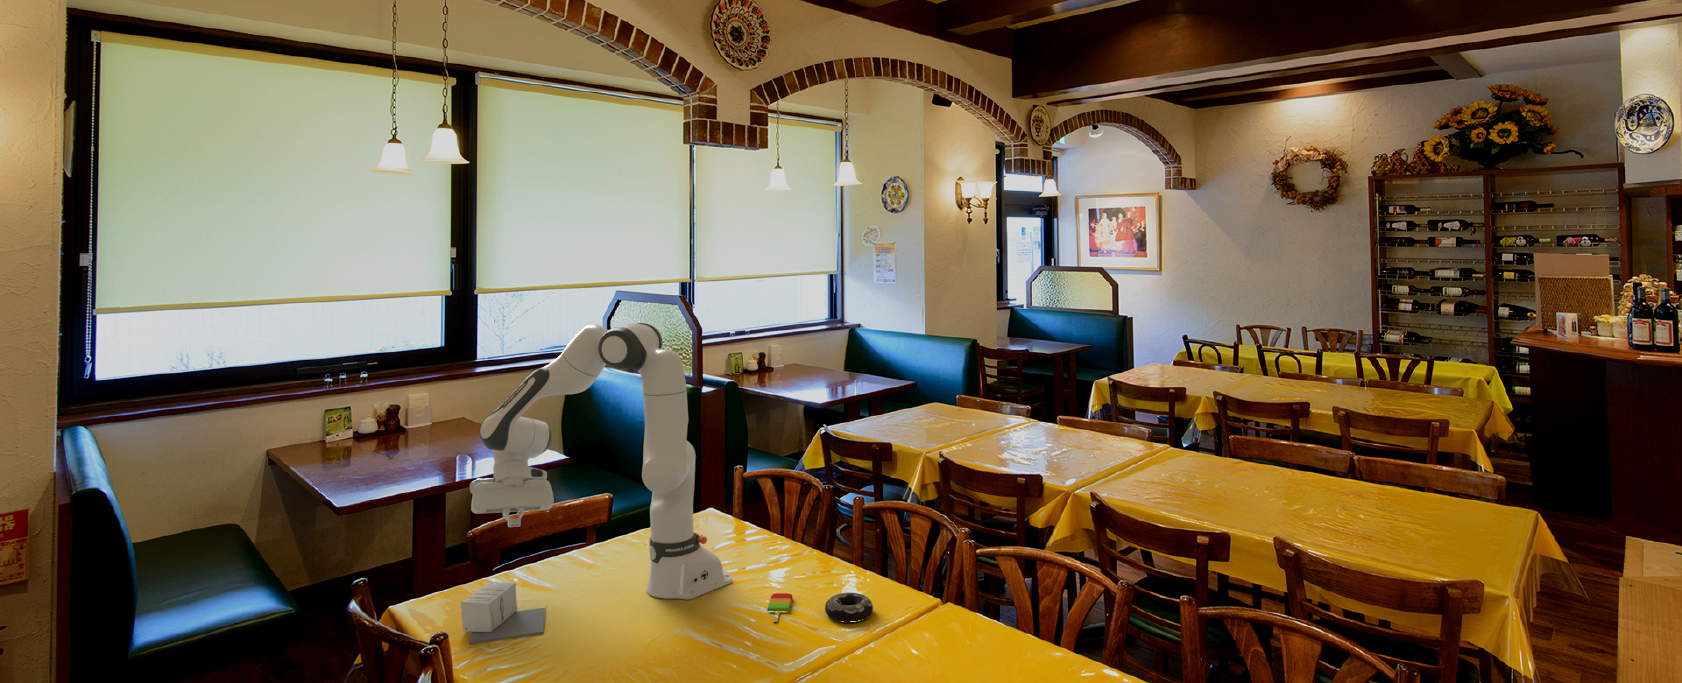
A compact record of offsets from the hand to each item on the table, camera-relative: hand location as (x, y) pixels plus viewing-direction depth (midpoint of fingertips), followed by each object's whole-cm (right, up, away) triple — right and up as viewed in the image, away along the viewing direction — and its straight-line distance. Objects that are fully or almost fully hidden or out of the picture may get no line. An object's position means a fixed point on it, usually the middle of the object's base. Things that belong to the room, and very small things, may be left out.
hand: (514, 526), depth 215 cm
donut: (+87, -19, -13) cm, 90 cm away
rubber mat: (+5, -20, -17) cm, 27 cm away
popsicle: (+70, -19, -10) cm, 73 cm away
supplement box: (+1, -15, -9) cm, 18 cm away
